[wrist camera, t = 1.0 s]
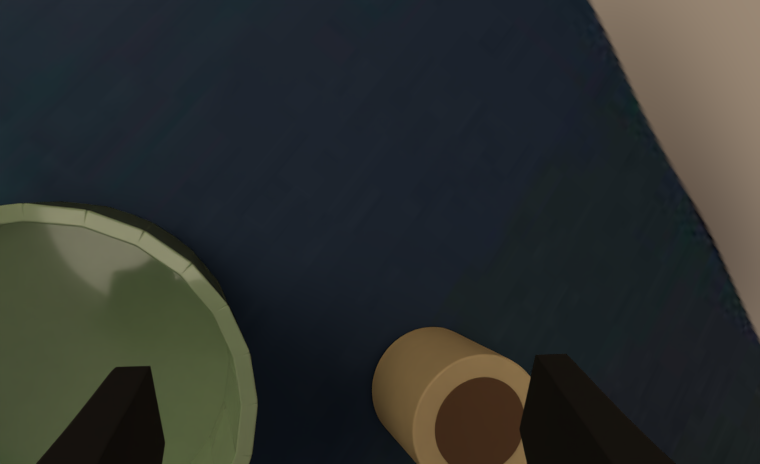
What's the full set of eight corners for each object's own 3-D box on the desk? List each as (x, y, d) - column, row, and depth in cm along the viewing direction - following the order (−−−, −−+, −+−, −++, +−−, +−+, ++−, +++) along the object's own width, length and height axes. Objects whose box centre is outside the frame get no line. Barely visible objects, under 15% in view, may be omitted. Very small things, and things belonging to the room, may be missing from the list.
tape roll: (498, 408, 28) (563, 452, 24) (398, 465, 27) (445, 523, 22) (457, 306, 28) (516, 330, 23) (352, 360, 26) (391, 397, 21)
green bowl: (288, 433, 26) (318, 501, 20) (-24, 598, 23) (-94, 733, 17) (158, 151, 24) (150, 136, 18) (-204, 291, 21) (-350, 328, 15)
